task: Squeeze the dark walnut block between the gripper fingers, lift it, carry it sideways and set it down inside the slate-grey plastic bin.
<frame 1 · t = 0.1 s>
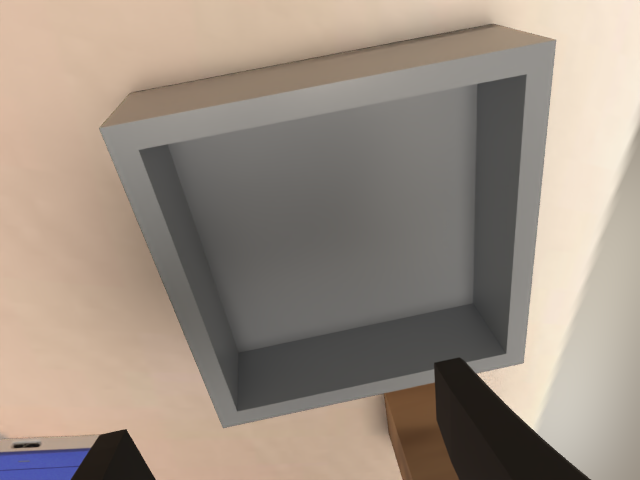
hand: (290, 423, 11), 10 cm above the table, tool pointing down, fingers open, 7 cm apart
grey bin: (338, 218, 20), on the table
walnut block: (420, 404, 27), on the table
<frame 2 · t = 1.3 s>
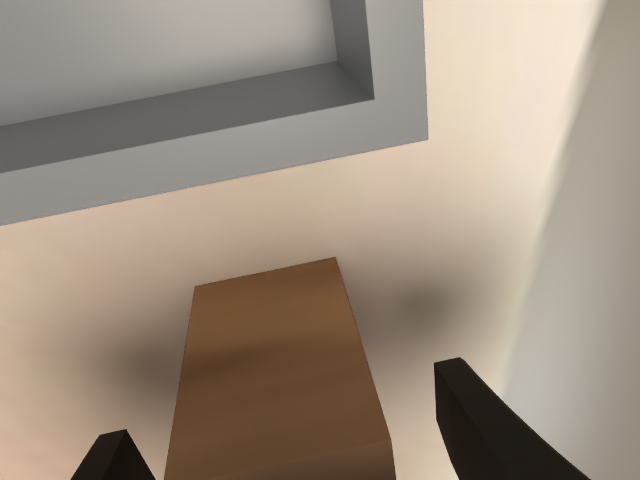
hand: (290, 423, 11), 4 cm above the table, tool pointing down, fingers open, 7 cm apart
walnut block: (279, 324, 14), on the table
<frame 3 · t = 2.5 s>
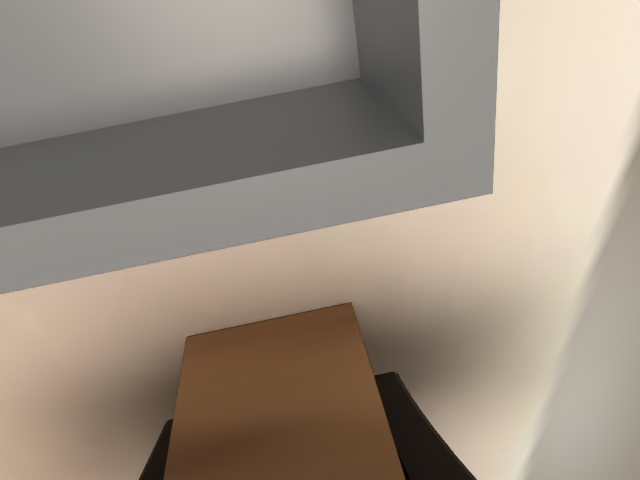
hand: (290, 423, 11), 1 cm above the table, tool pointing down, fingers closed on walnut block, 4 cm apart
walnut block: (285, 377, 12), on the table, touching gripper
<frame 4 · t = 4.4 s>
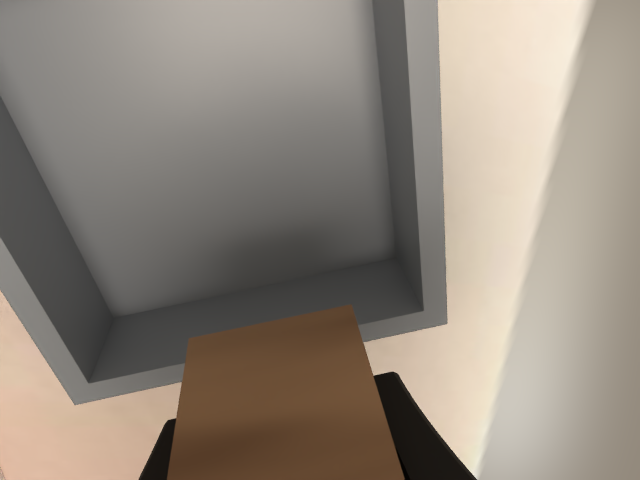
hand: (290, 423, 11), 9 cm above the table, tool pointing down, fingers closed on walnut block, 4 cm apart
grey bin: (217, 146, 16), on the table
walnut block: (286, 378, 12), point 7 cm above the table, touching gripper
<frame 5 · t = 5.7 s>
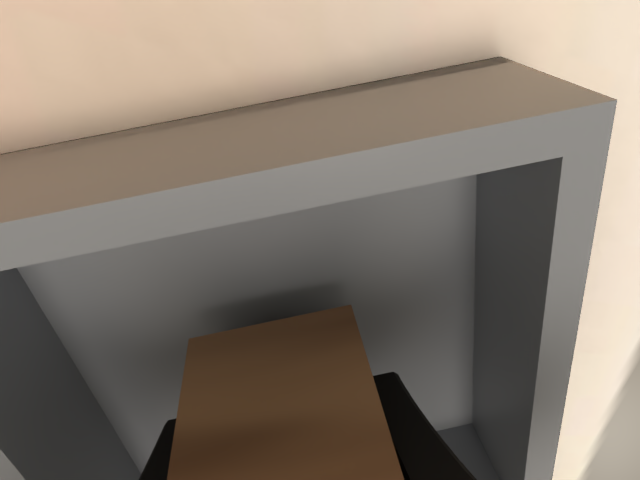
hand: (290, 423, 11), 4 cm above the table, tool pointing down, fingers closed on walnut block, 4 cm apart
grey bin: (280, 325, 14), on the table
walnut block: (286, 378, 12), point 2 cm above the table, touching gripper
when the fingers open (4 cm above the table, at t = 6.4 s): walnut block drops 1 cm, resting on grey bin.
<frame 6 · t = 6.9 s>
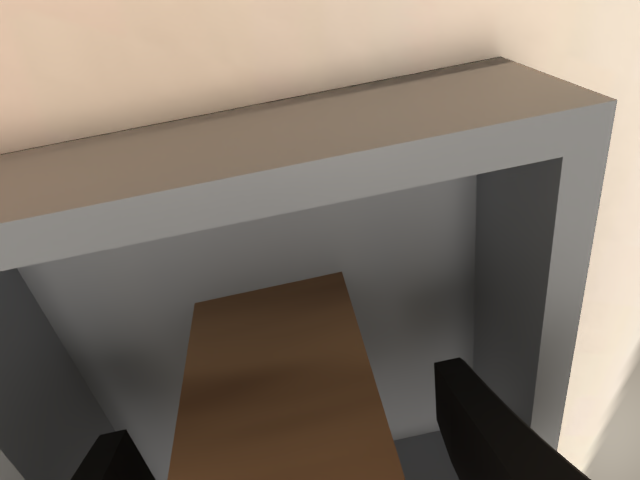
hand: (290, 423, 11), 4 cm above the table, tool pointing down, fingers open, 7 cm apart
grey bin: (281, 325, 14), on the table
walnut block: (283, 341, 14), point 1 cm above the table, touching grey bin
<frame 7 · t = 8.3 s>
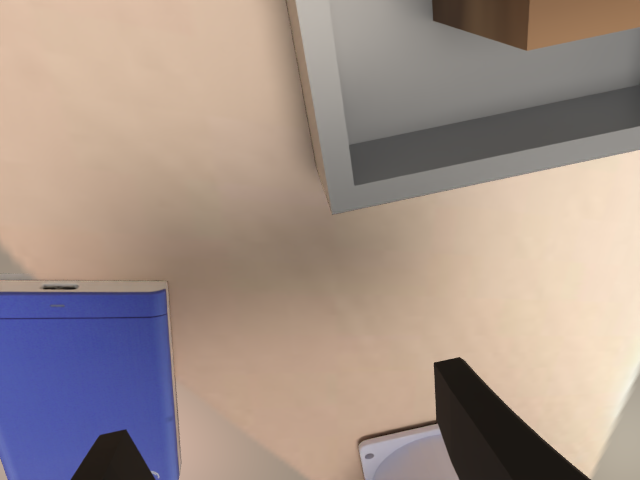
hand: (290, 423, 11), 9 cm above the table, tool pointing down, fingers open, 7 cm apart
hard drive: (89, 377, 23), on the table
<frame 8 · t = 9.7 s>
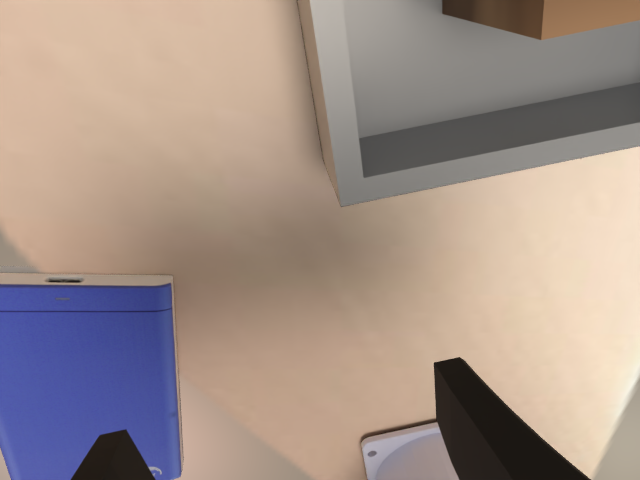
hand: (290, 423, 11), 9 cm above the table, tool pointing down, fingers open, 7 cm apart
hard drive: (92, 372, 23), on the table
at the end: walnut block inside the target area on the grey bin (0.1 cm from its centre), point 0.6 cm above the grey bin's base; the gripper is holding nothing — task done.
